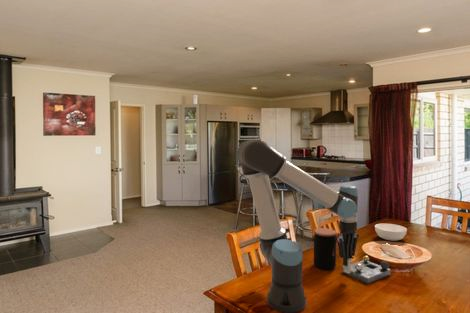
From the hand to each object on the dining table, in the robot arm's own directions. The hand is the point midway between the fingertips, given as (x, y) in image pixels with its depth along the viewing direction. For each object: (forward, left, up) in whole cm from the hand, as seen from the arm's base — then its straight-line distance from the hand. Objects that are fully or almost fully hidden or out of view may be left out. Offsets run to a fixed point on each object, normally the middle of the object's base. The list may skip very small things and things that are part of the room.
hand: (346, 272), depth 146 cm
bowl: (+71, +24, -4) cm, 75 cm away
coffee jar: (+3, +16, -4) cm, 17 cm away
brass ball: (+21, +5, 0) cm, 21 cm away
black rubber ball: (+21, -5, 0) cm, 21 cm away
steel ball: (+8, 0, 0) cm, 8 cm away
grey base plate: (+14, 0, -4) cm, 14 cm away
